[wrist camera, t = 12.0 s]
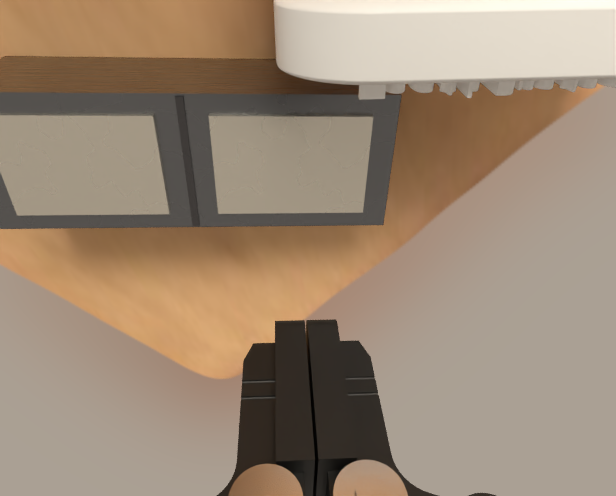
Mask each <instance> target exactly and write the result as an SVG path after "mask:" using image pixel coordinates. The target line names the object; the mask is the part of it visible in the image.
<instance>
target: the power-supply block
mask: <svg viewBox="0 0 616 496" xmlns="http://www.w3.org/2000/svg"><path fill="white" fill-rule="evenodd" d="M358 95H359V85H347V84H333V83H324V82H318V81H312V80H307V79H303V78H299V77H296V76H293V75H290V74H288V73H285V72H284V71H282V70H281V69H280V68H279V67H278V66H277V63H276V59H199V58H113V57H27V56H5V57H3V58H1V59H0V229H35V228H133V227H232V226H330V225H383V223H384V216H385V209H386V201H387V194H388V187H389V180H390V173H391V166H392V159H393V152H394V145H395V138H396V130H397V123H398V116H399V109H400V102H401V94H393V93H389V92H385V99H361V100H359V98H358Z"/></svg>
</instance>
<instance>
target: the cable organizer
mask: <svg viewBox="0 0 616 496" xmlns="http://www.w3.org/2000/svg"><path fill="white" fill-rule="evenodd" d="M274 23H275V45H276V63H277V66H278V67H279V68H280V69H281V70H282V71H284V72H285V73H288V74H290V75H293V76H296V77H299V78H303V79H307V80H312V81H318V82H324V83H333V84H347V85H359V95H358V98H359V100H361V99H385V92H389V93H393V94H400V93H403V92H404V91H405V84H408V85H409V87H410V88H411V89H413V90H414V91H417V92H420V93H430V92H432V91H433V86H434V83H437V84H438V86H439V87H440V89H439V91H440V92H445V93H446V94H448V95H452V92H456V87H457V88H458V89H459V90H460V91H461V92H462V93H463V94H464V95H465V96H466V97H467V98H471V97H472V92H475V91H478V89H479V84H480V82H481V83H482V84H483V85H484V86H485V87H486V88H487V89H489V90H490V91H491V92H492V93H493V94H494V95H496V96H506V95H511V94H513V90H514V88H516V89H517V90H521V89H524V90H532V89H533V87H535V88H538V89H543V90H550V89H552V88H553V85H554V82H555V83H557V84H558V85H560V87H559V88H562V89H567V90H569V91H571V92H575V90H576V88H577V86H579V87H583V88H595V87H596V84H597V83H598V84H601V85H604V86H607V87H612V88H616V0H274Z"/></svg>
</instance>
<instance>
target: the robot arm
mask: <svg viewBox="0 0 616 496" xmlns="http://www.w3.org/2000/svg"><path fill="white" fill-rule="evenodd" d="M217 496H437V495H434V494H431V493H428V492H425V491H423V490H421V489H419V488H417V487H415V486H414V485H412V484H411V483H410V482H409V481H407V480H406V479H405V478H404V477H403V476H402V474H401V473H400V472H399V470H398V469H397V467H396V466H395V463H394V461H393V459H392V455H391V451H390V446H389V442H388V437H387V432H386V428H385V423H384V418H383V414H382V409H381V405H380V399H379V396H378V390H377V385H376V381H375V378H374V371H373V367H372V362H371V357H370V356H369V355H368V353H367V352H366V350H365V349H364V348H363V346H362V345H361V344H360V342H359V341H340V338H339V332H338V326H337V321H336V320H307V321H306V332H305V321H304V320H301V321H275V343H255V344H253V345H252V347H251V349H250V351H249V352H248V354H247V356H246V357H245V359H244V362H243V379H242V393H241V408H240V423H239V439H238V455H237V464H236V469H235V472H234V475H233V477H232V479H231V481H230V482H229V483H228V485H227V486H226V487H225V489H224V490H223V491H222V492H221V493H220V494H219V495H217ZM469 496H495V495H492V494H488V493H475V494H472V495H469Z"/></svg>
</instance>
